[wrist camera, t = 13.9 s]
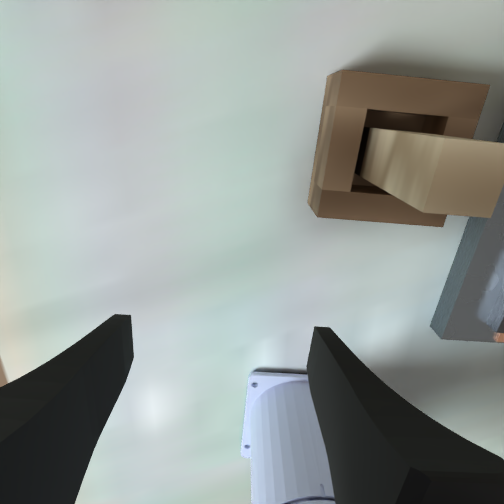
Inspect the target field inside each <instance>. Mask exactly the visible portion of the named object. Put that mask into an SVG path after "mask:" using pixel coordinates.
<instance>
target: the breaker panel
mask: <svg viewBox="0 0 504 504" xmlns="http://www.w3.org/2000/svg"><path fill="white" fill-rule="evenodd" d="M497 142H498V143H504V124H503V126H502V129H501V132H500V135H499V137H498V140H497ZM430 327H431V328H432V329H433V330H434V331H435V332H436V334H437V335H438V336H439V337H440V338H441V339H447V340H464V341H480V342H496V343H504V185H503V188H502V190H501V193H500V195H499V198H498V200H497V203H496V206H495V208H494V211H493V213H492V216H491V218H484V217H471V216H470V217H469V220H468V223H467V226H466V228H465V231H464V234H463V237H462V239H461V242H460V245H459V248H458V251H457V253H456V256H455V259H454V262H453V264H452V267H451V270H450V273H449V275H448V278H447V281H446V284H445V286H444V289H443V292H442V295H441V297H440V300H439V303H438V306H437V308H436V311H435V314H434V317H433V320H432V322H431V325H430Z"/></svg>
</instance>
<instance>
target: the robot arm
mask: <svg viewBox="0 0 504 504" xmlns="http://www.w3.org/2000/svg"><path fill="white" fill-rule="evenodd" d="M133 358H134V353H133V338H132V324H131V315H120V314H115V315H113V316H112V317H110V318H109V319H108V320H106V321H105V322H104V323H102V324H101V325H100V326H98V327H97V328H96V329H94V330H93V331H92V332H90V333H89V334H87V335H86V336H85V337H83V338H82V339H81V340H79V341H78V342H76V343H75V344H74V345H72V346H71V347H69V348H68V349H66V350H65V351H63V352H62V353H60V354H59V355H57V356H56V357H54V358H53V359H51V360H50V361H48V362H46V363H45V364H43V365H41V366H40V367H38V368H36V369H34V370H33V371H31V372H29V373H27V374H26V375H24V376H22V377H20V378H18V379H16V380H14V381H12V382H10V383H8V384H6V385H4V386H2V387H0V504H75V501H76V498H77V495H78V492H79V490H80V487H81V484H82V481H83V478H84V475H85V473H86V470H87V467H88V464H89V462H90V459H91V456H92V453H93V451H94V448H95V446H96V444H97V441H98V439H99V437H100V435H101V432H102V430H103V428H104V426H105V424H106V422H107V420H108V418H109V416H110V414H111V412H112V410H113V407H114V405H115V403H116V401H117V399H118V397H119V395H120V393H121V391H122V389H123V386H124V384H125V382H126V379H127V377H128V374H129V371H130V368H131V364H132V361H133ZM307 373H308V375H307V374H288V373H270V372H252V373H250V374H249V379H248V388H247V397H246V407H245V416H244V425H243V434H242V444H241V456H242V457H244V458H251V504H504V460H503V459H502V458H501V457H499V456H497V455H495V454H493V453H491V452H489V451H488V450H486V449H484V448H482V447H480V446H478V445H476V444H474V443H472V442H470V441H468V440H466V439H465V438H463V437H461V436H459V435H458V434H456V433H454V432H453V431H451V430H449V429H448V428H446V427H444V426H443V425H441V424H440V423H438V422H436V421H435V420H433V419H432V418H430V417H429V416H427V415H426V414H424V413H423V412H421V411H420V410H419V409H417V408H416V407H414V406H413V405H411V404H410V403H409V402H407V401H406V400H405V399H403V398H402V397H401V396H400V395H398V394H397V393H396V392H395V391H393V390H392V389H391V388H390V387H388V386H387V385H386V384H385V383H384V382H383V381H381V380H380V379H379V378H378V377H377V376H376V375H375V374H374V373H373V372H372V371H371V370H370V369H368V368H367V367H366V366H365V365H364V364H363V363H362V362H361V361H360V360H359V359H358V358H357V356H356V355H355V354H354V353H353V352H352V351H351V350H350V349H349V348H348V347H347V346H346V345H345V344H344V343H343V341H342V340H341V339H340V338H339V337H338V336H337V335H336V334H335V333H334V332H333V330H332V329H331V328H330V327H314V332H313V337H312V342H311V347H310V352H309V357H308V362H307ZM254 382H256V384H253V383H254Z"/></svg>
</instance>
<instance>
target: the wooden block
mask: <svg viewBox="0 0 504 504" xmlns="http://www.w3.org/2000/svg"><path fill="white" fill-rule="evenodd" d="M354 173H355V174H357V175H359V176H360V177H362V178H364V179H366V180H367V181H369V182H371V183H372V184H374V185H376V186H378V187H379V188H381V189H383V190H385V191H386V192H388V193H390V194H392V195H393V196H395V197H397V198H398V199H400V200H402V201H404V202H405V203H407V204H409V205H411V206H412V207H414V208H416V209H418V210H419V211H421V212H423V213H434V214H447V215H459V216H471V217H484V218H491V216H492V213H493V211H494V208H495V206H496V203H497V200H498V198H499V195H500V193H501V190H502V188H503V185H504V143H498V142H491V141H483V140H475V139H467V138H459V137H451V136H444V135H436V134H428V133H420V132H412V131H403V130H392V129H382V128H371V127H364V128H363V133H362V138H361V142H360V147H359V152H358V157H357V162H356V167H355V171H354Z"/></svg>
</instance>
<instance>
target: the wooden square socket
mask: <svg viewBox="0 0 504 504" xmlns="http://www.w3.org/2000/svg"><path fill="white" fill-rule="evenodd" d="M489 87H490V85H486V84H476V83H466V82H457V81H447V80H437V79H428V78H418V77H408V76H398V75H389V74H379V73H369V72H359V71H350V70H341V71H338V72H336V73H334V74H331V75H329V76H327V82H326V88H325V95H324V101H323V107H322V114H321V120H320V127H319V133H318V139H317V146H316V152H315V158H314V165H313V171H312V177H311V184H310V190H309V197H308V204H309V206H310V207H311V209H312V210H313V212H314V213H315V215H316V216H317V217H321V218H333V219H346V220H359V221H371V222H384V223H397V224H409V225H422V226H435V227H443V225H444V222H445V219H446V216H447V214H434V213H423V212H421V211H419V210H418V209H416V208H414V207H412V206H411V205H409V204H407V203H405V202H404V201H402V200H400V199H398V198H397V197H395V196H393V195H392V194H390V193H388V192H386V191H385V190H383V189H381V188H379V187H378V186H376V185H374V184H372V183H371V182H369V181H367V180H366V179H364V178H362V177H360V176H359V175H357V174H355V173H354V171H355V167H356V162H357V157H358V152H359V147H360V142H361V138H362V133H363V128H364V127H371V128H382V129H392V130H403V131H412V132H420V133H428V134H436V135H444V136H451V137H459V138H467V139H472V138H473V135H474V132H475V129H476V126H477V123H478V120H479V117H480V114H481V111H482V108H483V105H484V102H485V99H486V96H487V93H488V90H489Z"/></svg>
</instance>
